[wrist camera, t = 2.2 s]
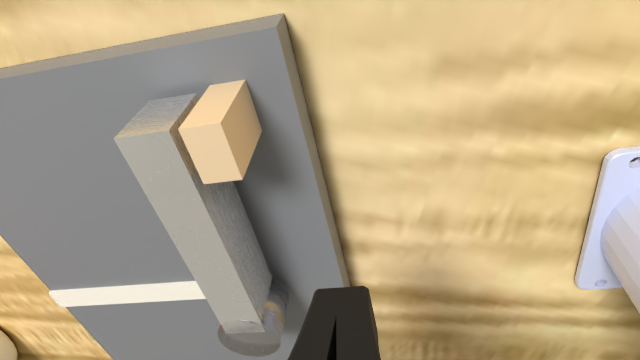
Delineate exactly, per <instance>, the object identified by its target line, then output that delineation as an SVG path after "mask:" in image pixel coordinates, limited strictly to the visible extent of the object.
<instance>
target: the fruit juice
mask: <svg viewBox="0 0 640 360" xmlns="http://www.w3.org/2000/svg"><path fill="white" fill-rule="evenodd" d="M17 357H18V354H17V350H16V347H15V345H14V344H13V342H12V341H11V340H10V338H9V337H8V336H7V335H6V334H5V333H4V332H2V331H1V330H0V360H17Z"/></svg>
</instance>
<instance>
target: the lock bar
mask: <svg viewBox="0 0 640 360" xmlns="http://www.w3.org/2000/svg"><path fill="white" fill-rule="evenodd" d="M199 100H200V99H199V97H198V94H197V93H194V94H188V95H181V96H175V97H169V98H163V99H157V100H151V101H148V102H147V103H146V105H145V106H144V107H143V108H142V109H141V110H140V111H139V112H138V113H137V114H136V115H135V116H134V117H133V118H132V119H131V120H130V122H129V123H128V124H127V125H126V126H125V127H124V128H123V129H122V130H121V131H120V132H119V133H118V134H117V135H116V136H115V137H114V140H115V142H116V144H117V146H118V147H119V149H120V151H121V153H122V154H123V156H124V158H125V159H126V161H127V163H128V165H129V166H130V168H131V170H132V172H133V173H134V175H135V177H136V178H137V180H138V182H139V184H140V185H141V187H142V189H143V191H144V192H145V194H146V196H147V198H148V199H149V201H150V203H151V204H152V206H153V208H154V210H155V211H156V213H157V215H158V217H159V218H160V220H161V222H162V223H163V225H164V227H165V229H166V230H167V232H168V234H169V236H170V237H171V239H172V241H173V242H174V244H175V246H176V248H177V249H178V251H179V253H180V255H181V256H182V258H183V260H184V262H185V263H186V265H187V267H188V268H189V270H190V272H191V274H192V275H193V277H194V279H195V281H196V282H197V284H198V286H199V287H200V289H201V291H202V293H203V294H204V296H205V298H206V300H207V301H208V303H209V305H210V306H211V308H212V310H213V312H214V313H215V315H216V317H217V319H218V320H219V322H220V326H219V329H218V339H219V341H220V342H221V343H222V344H223V345H224V346H225V347H226V348H228V349H229V350H231V351H233V352H235V353H238V354H241V355H245V356H252V357H261V356H267V355H270V354H273V353H275V352H276V351H277V350H278V349H279V348H280V345H281V339H282V333H283V328H284V322H285V317H286V311H287V306H288V300H289V292H288V290H287V288H286V286H285V285H284V284H283V283H282V282H280V281H279V280H277V279H275V278H273V277H272V275H271V273H270V270H269V268H268V265H267V263H266V260H265V258H264V255H263V253H262V251H261V248H260V246H259V243H258V241H257V238H256V236H255V233H254V231H253V229H252V226H251V224H250V221H249V219H248V216H247V214H246V211H245V209H244V207H243V204H242V202H241V199H240V197H239V194H238V192H237V189H236V187H235V185H234V182H233V181H227V182H219V183H210V184H203V182H202V180H201V178H200V175H199V173H198V171H197V169H196V167H195V165H194V162H193V160H192V158H191V156H190V154H189V152H188V150H187V147H186V145H185V143H184V141H183V139H182V137H181V134H180V132H179V130H178V129H179V127H180V126H181V124H182V123H183V122H184V120H185V119H186V118H187V116H188V115H189V113H190V112H191V111H192V109H193V108H194V107H195V105H196V104H197V102H198V101H199Z"/></svg>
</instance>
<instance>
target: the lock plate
mask: <svg viewBox="0 0 640 360" xmlns="http://www.w3.org/2000/svg"><path fill="white" fill-rule="evenodd" d="M194 93H197V94H198V97H199V99H200V100H199V101H198V102H197V104H196V105H195V107H194V108H193V109H192V111H191V112H190V113H189V115H188V116H187V118H186V119H185V120H184V122H183V123H182V124H181V126H180V127H179V129H178V130H179V132H180V134H181V137H182V139H183V141H184V143H185V145H186V147H187V150H188V152H189V154H190V156H191V158H192V160H193V162H194V165H195V167H196V169H197V171H198V173H199V175H200V178H201V180H202V182H203V184H210V183H219V182H227V181H233V182H234V185H235V187H236V189H237V192H238V194H239V197H240V199H241V202H242V204H243V207H244V209H245V211H246V214H247V216H248V219H249V221H250V224H251V226H252V229H253V231H254V233H255V236H256V238H257V241H258V243H259V246H260V248H261V251H262V253H263V255H264V258H265V260H266V263H267V265H268V268H269V270H270V273H271V275H272V277H273V278H275V279H277V280H279V281H280V282H282V283H283V284H284V285H285V286H286V288H287V290H288V292H289V300H288V306H287V311H286V317H285V322H284V328H283V333H282V339H281V345H280V348H279V349H278V350H277V351H276V352H275V353H273V354H270V355H267V356H261V357H252V356H245V355H241V354H238V353H235V352H233V351H231V350H229V349H228V348H226V347H225V346H224V345H223V344H222V343H221V342H220V341H219V339H218V329H219V326H220V322H219V320H218V319H217V317H216V315H215V313H214V312H213V310H212V308H211V306H210V305H209V303H208V301H207V300H206V298H205V296H204V294H203V293H202V291H201V289H200V287H199V286H198V284H197V282H196V281H195V279H194V277H193V275H192V274H191V272H190V270H189V268H188V267H187V265H186V263H185V262H184V260H183V258H182V256H181V255H180V253H179V251H178V249H177V248H176V246H175V244H174V242H173V241H172V239H171V237H170V236H169V234H168V232H167V230H166V229H165V227H164V225H163V223H162V222H161V220H160V218H159V217H158V215H157V213H156V211H155V210H154V208H153V206H152V204H151V203H150V201H149V199H148V198H147V196H146V194H145V192H144V191H143V189H142V187H141V185H140V184H139V182H138V180H137V178H136V177H135V175H134V173H133V172H132V170H131V168H130V166H129V165H128V163H127V161H126V159H125V158H124V156H123V154H122V153H121V151H120V149H119V147H118V146H117V144H116V142H115V140H114V137H115V136H116V135H117V134H118V133H119V132H120V131H121V130H122V129H123V128H124V127H125V126H126V125H127V124H128V123H129V122H130V120H131V119H132V118H133V117H134V116H135V115H136V114H137V113H138V112H139V111H140V110H141V109H142V108H143V107H144V106H145V105H146V103H147V102H148V101H151V100H157V99H163V98H169V97H175V96H181V95H188V94H194ZM0 236H1V237H2V238H3V239H4V240H5V241H6V242H7V243H8V244H9V245H10V247H11V248H12V249H13V250H14V251H15V252H16V253H17V254H18V255H19V256H20V258H21V259H22V260H23V261H24V262H25V263H26V264H27V265H28V266H29V267H30V269H31V270H32V271H33V272H34V273H35V274H36V275H37V276H38V277H39V278H40V279H41V281H42V282H43V283H44V284H45V285H46V286H47V287H48V288H49V289H50V290H51V291H50V292H49V293H48V294H49V295H50V296H51V297H52V298H53V299H54V300H55V301H56V302H57V304H58V305H59V306H60V307H66V308H67V309H68V310H69V311H70V312H71V314H72V315H73V316H74V317H75V318H76V319H77V320H78V321H79V322H80V323H81V324H82V326H83V327H84V328H85V329H86V330H87V331H88V332H89V333H90V334H91V335H92V337H93V338H94V339H95V340H96V341H97V342H98V343H99V344H100V345H101V346H102V348H103V349H104V350H105V351H106V352H107V353H108V354H109V355H110V356H111V357H112V359H113V360H288V358H289V355H290V353H291V351H292V349H293V347H294V344H295V342H296V340H297V337H298V335H299V333H300V330H301V328H302V325H303V323H304V320H305V318H306V315H307V312H308V310H309V307H310V304H311V301H312V298H313V295H314V292H315V291H316V290H317V289H324V288H340V287H351V285H350V281H349V277H348V273H347V269H346V265H345V261H344V256H343V252H342V248H341V244H340V240H339V236H338V232H337V228H336V224H335V220H334V216H333V212H332V208H331V204H330V199H329V195H328V191H327V187H326V183H325V179H324V175H323V171H322V167H321V163H320V159H319V155H318V151H317V146H316V142H315V138H314V134H313V130H312V126H311V122H310V118H309V114H308V110H307V106H306V102H305V98H304V93H303V89H302V85H301V81H300V77H299V73H298V69H297V65H296V61H295V57H294V53H293V49H292V45H291V41H290V36H289V32H288V28H287V24H286V20H285V16H284V13H283V14H278V15H273V16H268V17H262V18H257V19H252V20H247V21H242V22H237V23H232V24H226V25H221V26H216V27H211V28H206V29H201V30H196V31H190V32H185V33H180V34H175V35H170V36H165V37H160V38H154V39H149V40H144V41H139V42H134V43H129V44H123V45H118V46H113V47H108V48H103V49H98V50H93V51H87V52H82V53H77V54H72V55H67V56H62V57H57V58H51V59H46V60H41V61H36V62H31V63H26V64H21V65H15V66H10V67H5V68H0Z"/></svg>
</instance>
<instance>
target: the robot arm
mask: <svg viewBox="0 0 640 360" xmlns="http://www.w3.org/2000/svg"><path fill="white" fill-rule="evenodd" d="M636 157H638V159H637V160H635V161H634V162H630V161H631V160H632V159H634V158H636ZM575 282H576V284H577V286H578V287H579V288H581V289H585V290H591V289H610V288H624V290H625V291H626V293H627V294H628V296H629V298H630V299H631V301H632V303H633V304H634V306H635V307H636V309H637V311H638V312H639V314H640V146H637V147H628V148H620V149H616V150H613V151H611V152H610V153H608V154H607V155H606V156H605V158H604V160H603V163H602V168H601V172H600V176H599V180H598V184H597V188H596V193H595V197H594V201H593V205H592V209H591V213H590V217H589V222H588V226H587V230H586V234H585V238H584V242H583V246H582V251H581V255H580V259H579V263H578V267H577V271H576V276H575ZM288 360H381V358H380V354H379V346H378V336H377V327H376V323H375V318H374V313H373V308H372V303H371V298H370V294H369V289H368V288H366V287H364V286H356V287H340V288H324V289H317V290H316V291H315V292H314V295H313V298H312V301H311V304H310V307H309V310H308V312H307V315H306V318H305V320H304V323H303V325H302V328H301V330H300V333H299V335H298V337H297V340H296V342H295V344H294V347H293V349H292V351H291V353H290V355H289V358H288Z"/></svg>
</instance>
